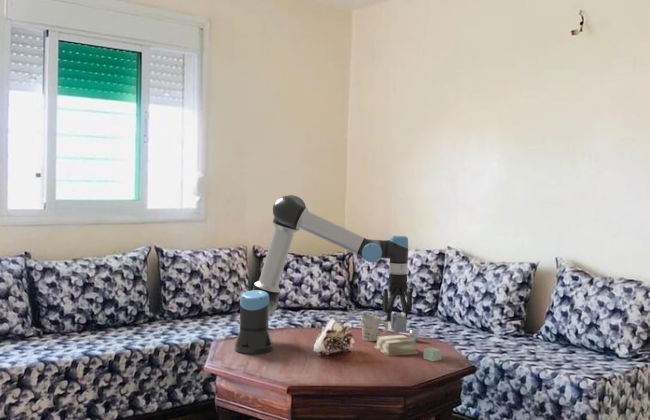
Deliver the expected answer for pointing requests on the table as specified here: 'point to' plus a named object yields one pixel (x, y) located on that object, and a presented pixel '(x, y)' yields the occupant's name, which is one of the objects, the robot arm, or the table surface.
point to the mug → (371, 327)
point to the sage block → (432, 354)
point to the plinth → (395, 345)
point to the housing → (398, 322)
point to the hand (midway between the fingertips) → (396, 328)
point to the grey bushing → (413, 334)
